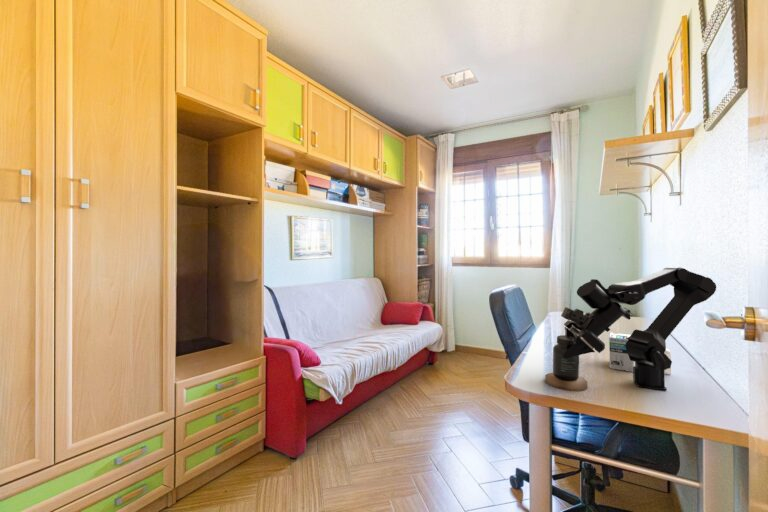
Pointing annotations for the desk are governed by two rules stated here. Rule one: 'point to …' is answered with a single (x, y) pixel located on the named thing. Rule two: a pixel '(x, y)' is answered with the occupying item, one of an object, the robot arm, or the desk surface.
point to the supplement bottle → (565, 360)
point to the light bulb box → (619, 352)
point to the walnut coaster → (566, 383)
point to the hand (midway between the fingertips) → (560, 353)
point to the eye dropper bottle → (670, 359)
